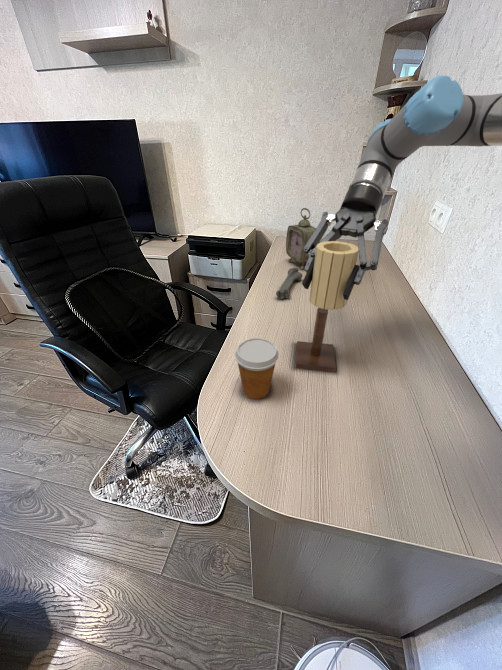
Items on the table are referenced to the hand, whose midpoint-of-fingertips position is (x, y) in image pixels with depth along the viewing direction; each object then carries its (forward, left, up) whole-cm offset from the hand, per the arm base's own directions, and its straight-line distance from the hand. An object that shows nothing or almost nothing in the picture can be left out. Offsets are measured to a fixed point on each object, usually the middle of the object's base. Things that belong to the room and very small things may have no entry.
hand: (324, 291), depth 57 cm
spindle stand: (+6, -1, -23) cm, 24 cm away
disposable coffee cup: (-8, +13, -23) cm, 28 cm away
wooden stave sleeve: (+3, -1, -4) cm, 5 cm away
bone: (+48, +8, -23) cm, 54 cm away
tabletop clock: (+75, +4, -23) cm, 79 cm away
